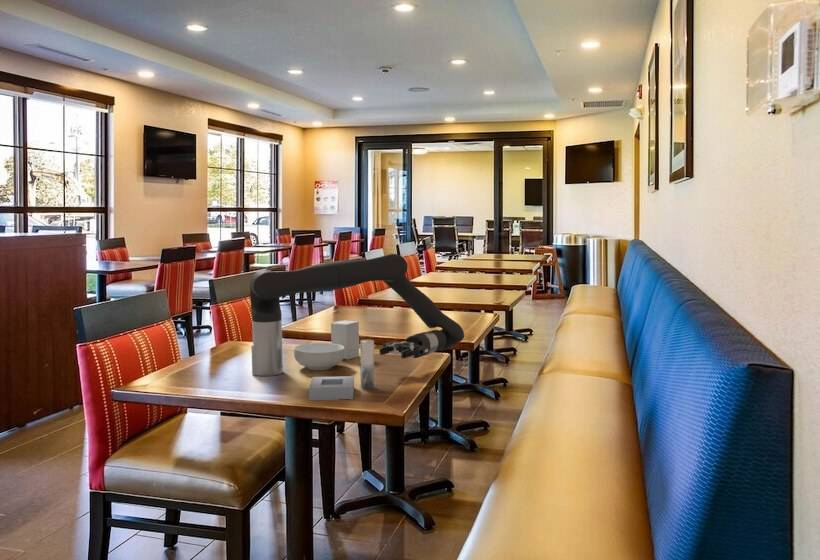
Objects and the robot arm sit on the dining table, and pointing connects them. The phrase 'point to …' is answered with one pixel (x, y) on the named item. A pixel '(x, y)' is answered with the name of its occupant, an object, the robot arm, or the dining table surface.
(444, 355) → the dining table surface
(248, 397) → the dining table surface
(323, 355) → the cereal bowl
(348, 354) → the supplement box
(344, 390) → the block
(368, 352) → the pin gauge
